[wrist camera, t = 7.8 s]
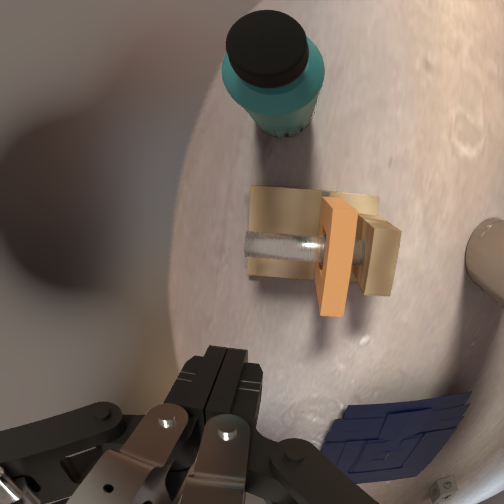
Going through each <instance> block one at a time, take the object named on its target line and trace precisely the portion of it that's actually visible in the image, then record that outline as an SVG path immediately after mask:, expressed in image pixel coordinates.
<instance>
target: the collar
mask: <svg viewBox="0 0 504 504" xmlns="http://www.w3.org/2000/svg"><path fill="white" fill-rule="evenodd" d="M357 218H358V211H357V210H356V209H355V208H353V207H352V206H351V205H349V204H348V203H347V202H345V201H344V200H343V199H341V198H336V197H325V196H322V202H321V215H320V226H319V236H320V237H323V234H326V243H325V252H324V261H323V265H321V263H320V262H316V266H315V275H314V279H315V285H316V292H317V298H318V305H319V311H320V316H334V317H343V314H344V309H345V303H346V298H347V292H348V285H349V279H350V272H351V266H352V259H353V251H354V244H355V235H356V227H357Z"/></svg>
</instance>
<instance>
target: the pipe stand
mask: <svg viewBox="0 0 504 504" xmlns="http://www.w3.org/2000/svg"><path fill="white" fill-rule="evenodd" d="M322 196H325V197H336V198H341V199H343V200H344V201H345V202H347V203H348V204H349V205H351V206H352V207H353V208H355V209H356V210H357V211H358V218H357V227H356V235H355V244H354V251H353V259H352V266H351V272H350V279H349V283H358V284H359V286H360V288H361V290H362V292H363V294H364V295H372V296H390V293H391V289H392V284H393V279H394V274H395V268H396V263H397V257H398V251H399V245H400V238H401V232H402V231H401V230H399V229H398V228H396V227H395V226H393V225H392V224H390V223H389V222H387V221H386V220H384V219H383V218H381V217H380V216H378V207H379V198H380V197H378V196H373V195H364V194H355V193H345V192H334V191H323V190H311V189H298V188H284V187H268V186H251V188H250V213H249V231H247V233H246V238H245V257H248V265H247V275H256V276H268V277H280V278H293V279H306V280H315V279H314V275H315V266H316V262H320V263H321V265H323V261H324V252H325V243H326V234H323V237H320V236H319V226H320V215H321V202H322Z"/></svg>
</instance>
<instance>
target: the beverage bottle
mask: <svg viewBox="0 0 504 504" xmlns="http://www.w3.org/2000/svg"><path fill="white" fill-rule="evenodd" d="M226 51H227V52H226V54H225V56H224V60H223V64H222V78H223V82H224V85H225V87H226V89H227V91H228V93H229V94H230V95H231V97H232V98H233V99H234V100H235V101H236V102H237V103H238V104H239V105H241V106H242V107H243V108H244V109H245V110H246V111H247V112H248V113H249V114H250V116H251V117H252V118H253V120H254V121H255V122H256V123H257V124H258V126H259V127H260V128H261V129H263V130H264V132H266V133H269V134H270V135H271V136H272V135H275V136H276V137H277V136H281V137H283V138H285V137H289V136H291V135H294V134H297V133H298V132H299V134H300V133H301V131H303V129H304V128H305V127H306V125H307V124H308V123H309V121H310V118H311V117H312V113H313V110H315V109H314V107H315V104H317V98H318V95H319V92H320V89H321V87H322V84H323V80H324V75H325V68H324V62H323V58H322V56H321V53H320V51H319V50H318V48H317V47H316V45H315V44H314V43H313V42H312V41H311V40H310V39H309V38H308V37H306V34H305V32H304V30H303V28H302V27H301V25H300V24H299V23H298V22H297V21H296V20H295V19H293V18H292V17H290V16H289V15H287V14H285V13H282V12H279V11H274V10H260V11H255V12H252V13H249V14H247V15H245V16H243V17H242V18H240V19H239V20H238V21H237V22H236V23H235V24H234V25H233V26H232V27H231V29H230V31H229V32H228V35H227V39H226ZM319 97H320V96H319ZM316 106H317V105H316ZM314 113H315V112H314ZM311 120H312V119H311ZM310 122H311V121H310ZM256 123H255V124H256ZM260 128H259V129H260ZM306 128H307V127H306ZM304 130H305V129H304ZM295 136H296V135H295ZM277 138H278V137H277Z"/></svg>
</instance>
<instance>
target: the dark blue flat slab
mask: <svg viewBox="0 0 504 504" xmlns="http://www.w3.org/2000/svg"><path fill="white" fill-rule="evenodd" d="M471 393H472V391H470V392H465V393H460V394H455V395H449V396H444V397H438V398H432V399H425V400H418V401H409V402H398V403H386V404H370V405H348V407H347V410H346V413H345V416H344V419H335V422H334V425H333V428H332V431H331V432H328V434H327V437H326V440H325V443H324V446H323V449H322V454H323V455H324V456H326V457H327V458H328V459H329V460H330V461H331V462H332V463H333V464H334V465H335V466H336V467H337V468H338V469H340V470H341V471H342V472H343V473H344V474H345V475H346V476H347V477H348V478H350V479H351V480H352V481H353V482H354V483H355V484H360V483H369V482H379V481H388V480H395V479H402V478H408V477H414V476H417V475H418V474H419V473H420V472H421V471H422V470H423V469H424V468H425V467H426V466H427V465H428V464H429V463H430V462H431V461H432V460H433V459H434V457H435V456H436V455H437V454H438V452H439V451H440V450H441V449H442V447H443V446H444V445H445V443H446V442H447V441H448V440H449V438H450V437H451V435H452V434H453V433H454V431H455V430H456V429H457V428H456V427H457V426H458V424H459V423H460V421H461V420H462V418H463V417H464V416H463V414H464V413H465V411H466V409H467V408H468V406H469V404H466V405H464V404H465V403H466V401H467V400H468V398H469V396H470V394H471Z"/></svg>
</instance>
